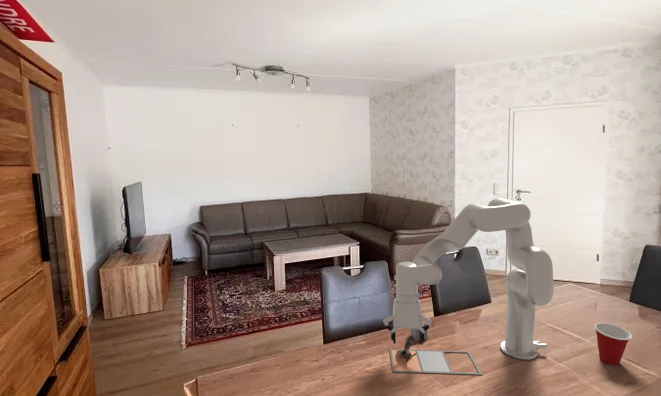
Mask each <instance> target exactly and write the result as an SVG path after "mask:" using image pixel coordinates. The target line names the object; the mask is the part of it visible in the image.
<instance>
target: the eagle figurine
mask: <svg viewBox="0 0 661 396" xmlns="http://www.w3.org/2000/svg"><path fill="white" fill-rule="evenodd" d="M412 338H413V337H409V338H408V339H407V341H405V343H404V348H400V350H398V351H397V354H398V355H400V354H402V355H403V356H404V359H406V364H407V362H408V361H409V359H410V358H412V357H413V356H415V355H416V354H417V353H415V354H413V355H411V353H409V350H411V348H412V345H413V339H412Z"/></svg>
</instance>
